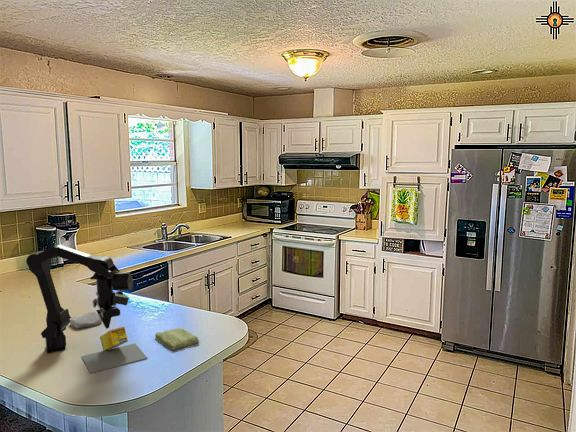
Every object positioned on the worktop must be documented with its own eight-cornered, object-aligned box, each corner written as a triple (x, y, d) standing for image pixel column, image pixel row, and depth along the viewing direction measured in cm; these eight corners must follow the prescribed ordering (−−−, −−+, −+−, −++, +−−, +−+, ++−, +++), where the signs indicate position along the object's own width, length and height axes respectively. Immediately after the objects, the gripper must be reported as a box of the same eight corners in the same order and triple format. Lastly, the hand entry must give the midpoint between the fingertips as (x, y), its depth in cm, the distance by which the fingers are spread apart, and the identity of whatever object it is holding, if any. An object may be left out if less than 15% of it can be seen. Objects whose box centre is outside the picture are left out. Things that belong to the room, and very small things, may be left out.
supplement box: (114, 332, 176) (124, 326, 168) (117, 346, 174) (128, 341, 167) (99, 336, 171) (109, 330, 164) (103, 351, 170) (113, 345, 163)
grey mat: (90, 373, 152) (90, 372, 152) (81, 357, 165) (81, 356, 165) (147, 358, 164) (147, 357, 164) (135, 344, 177) (134, 343, 176)
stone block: (104, 327, 200) (95, 317, 207) (104, 317, 199) (95, 308, 205) (77, 335, 192) (68, 325, 198) (77, 325, 191) (68, 315, 197)
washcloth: (181, 331, 191) (181, 324, 191) (201, 344, 178) (200, 336, 177) (152, 339, 183) (152, 331, 183) (170, 353, 169) (170, 345, 169)
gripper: (133, 291, 166) (135, 330, 168) (119, 281, 181) (121, 317, 183) (102, 297, 160) (104, 337, 162) (91, 285, 175) (93, 322, 177)
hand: (107, 328), depth 171 cm, fingers closed
